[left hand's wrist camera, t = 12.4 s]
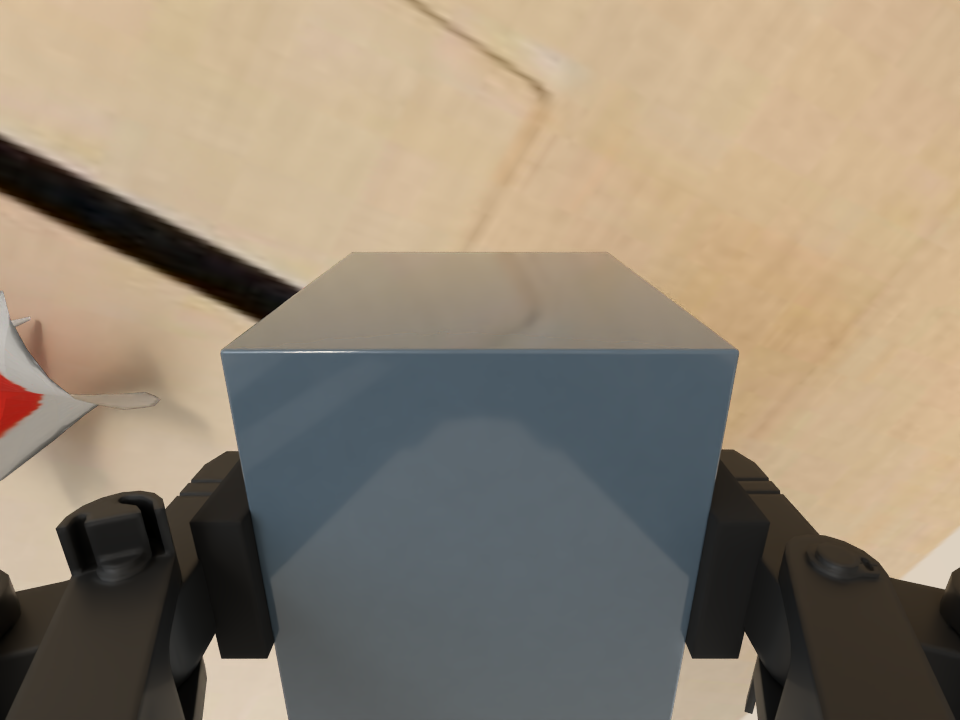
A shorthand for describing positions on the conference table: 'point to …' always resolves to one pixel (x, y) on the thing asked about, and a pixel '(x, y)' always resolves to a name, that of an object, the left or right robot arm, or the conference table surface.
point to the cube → (479, 485)
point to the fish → (39, 400)
